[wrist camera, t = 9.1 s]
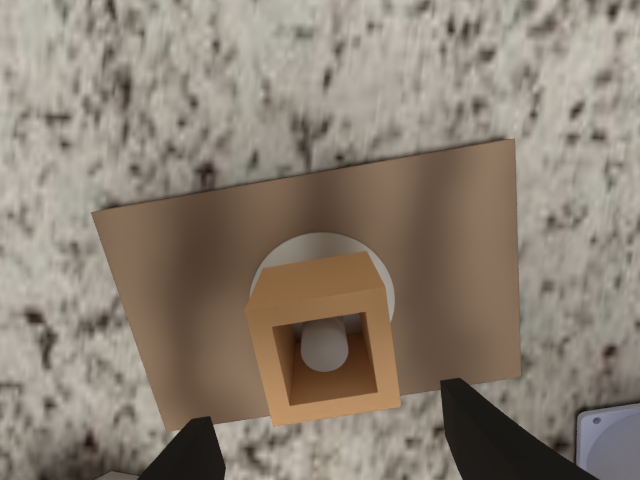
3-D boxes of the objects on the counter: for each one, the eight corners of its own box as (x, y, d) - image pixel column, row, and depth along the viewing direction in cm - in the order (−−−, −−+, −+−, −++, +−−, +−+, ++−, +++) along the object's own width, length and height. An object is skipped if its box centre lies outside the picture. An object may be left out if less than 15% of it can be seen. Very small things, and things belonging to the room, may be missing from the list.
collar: (366, 250, 18) (385, 287, 13) (379, 343, 20) (401, 406, 15) (263, 268, 18) (244, 309, 14) (283, 359, 20) (273, 426, 15)
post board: (504, 139, 18) (592, 133, 12) (512, 367, 22) (583, 445, 16) (102, 209, 19) (8, 235, 13) (172, 419, 22) (123, 513, 17)
